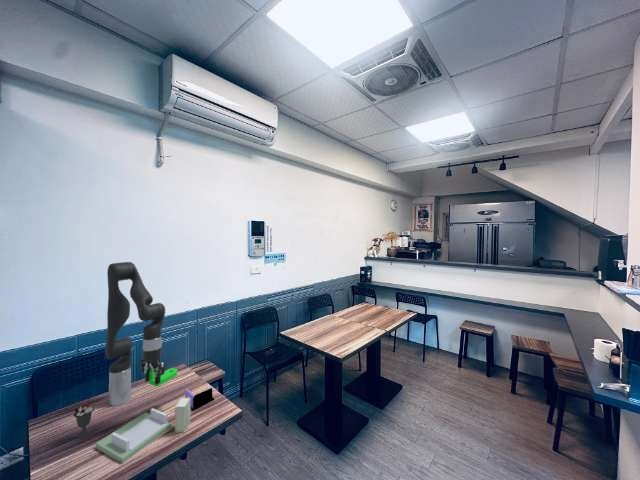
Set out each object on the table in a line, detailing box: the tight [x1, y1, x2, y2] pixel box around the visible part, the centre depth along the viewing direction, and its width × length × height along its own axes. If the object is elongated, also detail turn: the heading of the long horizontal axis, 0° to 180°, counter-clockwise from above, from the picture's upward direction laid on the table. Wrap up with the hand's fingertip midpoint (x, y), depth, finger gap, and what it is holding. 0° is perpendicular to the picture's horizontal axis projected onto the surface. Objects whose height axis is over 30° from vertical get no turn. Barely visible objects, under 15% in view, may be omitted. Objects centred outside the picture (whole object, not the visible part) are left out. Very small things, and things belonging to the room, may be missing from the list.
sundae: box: [72, 398, 95, 440], centre depth 112 cm, size 7×7×15 cm
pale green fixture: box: [95, 407, 172, 464], centre depth 111 cm, size 18×20×6 cm
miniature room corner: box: [184, 387, 215, 412], centre depth 136 cm, size 12×12×7 cm
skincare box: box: [174, 397, 191, 433], centre depth 116 cm, size 6×4×12 cm
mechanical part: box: [148, 367, 178, 387], centre depth 127 cm, size 12×6×8 cm, turn 160°
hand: (152, 382), depth 121 cm, fingers closed on mechanical part, 6 cm apart
